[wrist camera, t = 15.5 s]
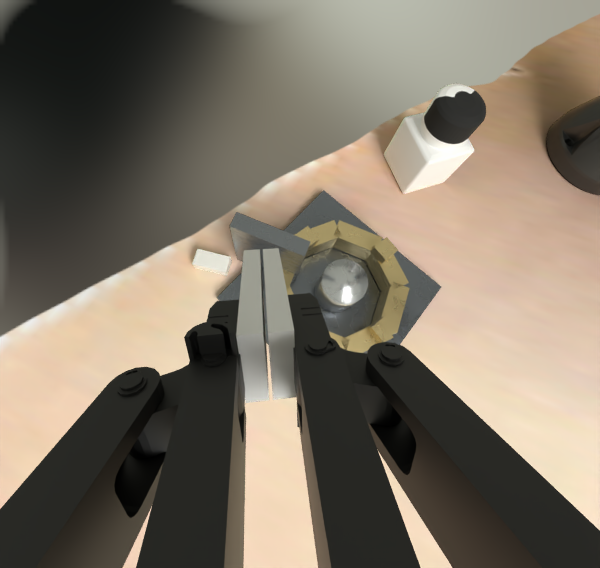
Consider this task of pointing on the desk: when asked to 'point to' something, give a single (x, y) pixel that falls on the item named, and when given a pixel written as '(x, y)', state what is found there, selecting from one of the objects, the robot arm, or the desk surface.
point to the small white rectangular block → (212, 262)
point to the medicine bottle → (435, 138)
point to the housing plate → (332, 254)
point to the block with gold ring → (348, 240)
